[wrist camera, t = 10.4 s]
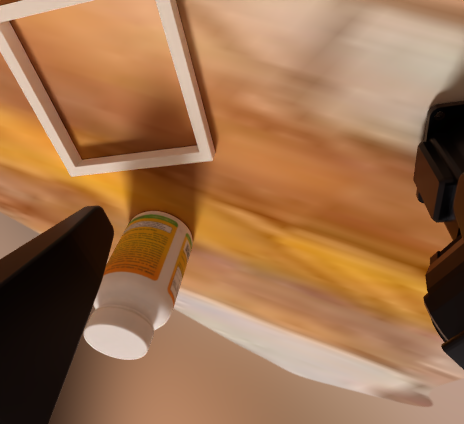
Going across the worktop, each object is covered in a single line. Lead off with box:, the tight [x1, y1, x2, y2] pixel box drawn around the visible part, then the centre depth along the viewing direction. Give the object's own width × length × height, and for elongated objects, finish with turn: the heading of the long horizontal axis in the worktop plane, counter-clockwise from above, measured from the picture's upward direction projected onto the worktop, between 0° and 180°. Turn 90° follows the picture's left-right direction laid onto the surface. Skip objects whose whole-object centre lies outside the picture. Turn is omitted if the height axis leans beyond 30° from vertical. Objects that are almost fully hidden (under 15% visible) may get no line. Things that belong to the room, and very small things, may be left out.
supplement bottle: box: [84, 211, 193, 360], centre depth 25 cm, size 5×5×10 cm
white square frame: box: [0, 0, 215, 177], centre depth 21 cm, size 10×10×1 cm
